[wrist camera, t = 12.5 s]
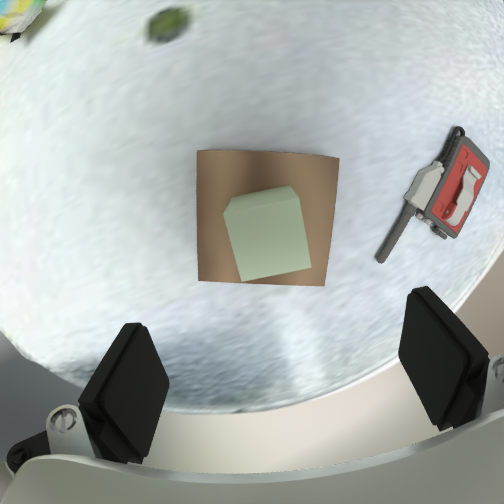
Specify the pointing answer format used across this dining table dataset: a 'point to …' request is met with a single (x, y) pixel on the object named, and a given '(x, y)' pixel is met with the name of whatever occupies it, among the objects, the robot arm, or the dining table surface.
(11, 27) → the decorative bird
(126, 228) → the dining table surface
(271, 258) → the sage block
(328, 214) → the walnut box
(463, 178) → the walkie-talkie
